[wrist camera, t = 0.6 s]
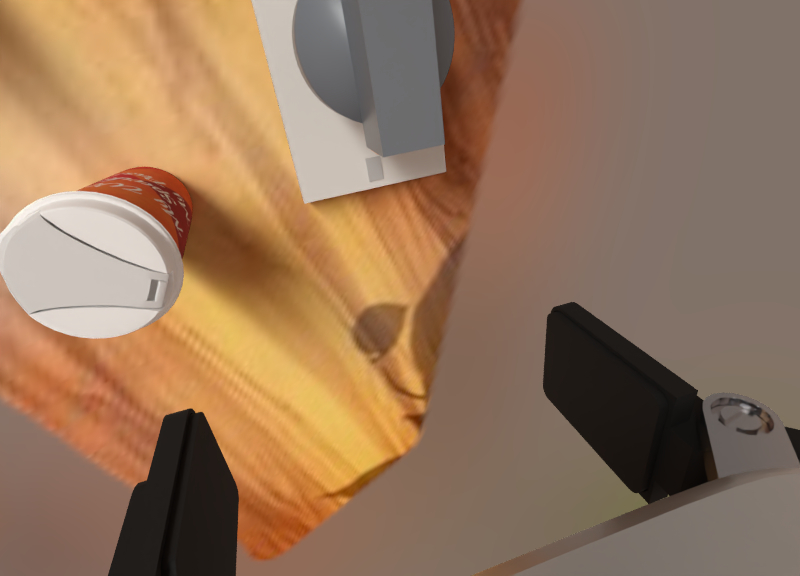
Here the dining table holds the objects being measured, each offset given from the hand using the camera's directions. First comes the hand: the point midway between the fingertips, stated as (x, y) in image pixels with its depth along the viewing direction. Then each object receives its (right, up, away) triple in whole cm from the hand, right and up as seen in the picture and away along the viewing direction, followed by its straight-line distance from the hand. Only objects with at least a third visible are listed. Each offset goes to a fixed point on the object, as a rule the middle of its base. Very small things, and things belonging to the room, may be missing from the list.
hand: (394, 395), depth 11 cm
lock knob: (-2, +18, +15) cm, 23 cm away
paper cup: (-19, +9, +21) cm, 30 cm away
